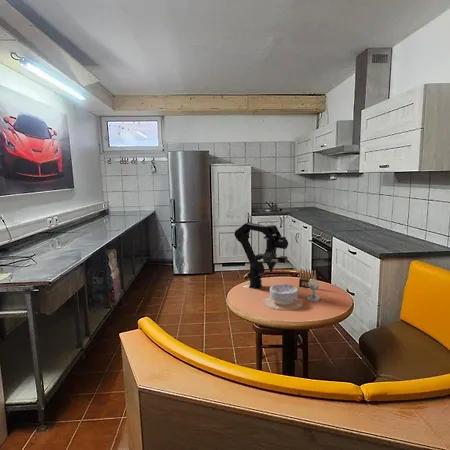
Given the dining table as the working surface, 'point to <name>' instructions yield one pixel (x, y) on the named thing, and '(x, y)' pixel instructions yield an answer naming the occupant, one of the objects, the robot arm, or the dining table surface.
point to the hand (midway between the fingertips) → (271, 272)
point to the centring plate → (273, 305)
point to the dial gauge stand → (313, 290)
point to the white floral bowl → (283, 294)
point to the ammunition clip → (306, 278)
